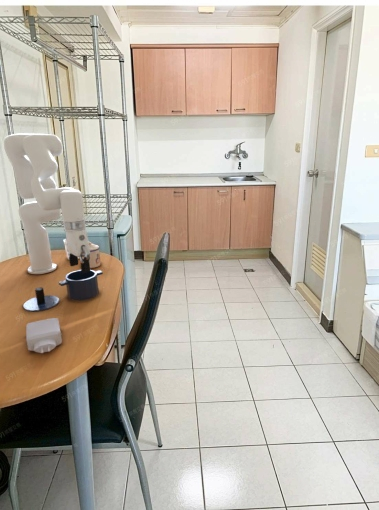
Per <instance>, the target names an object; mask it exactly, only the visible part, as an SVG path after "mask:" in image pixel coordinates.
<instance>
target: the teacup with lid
mask: <svg viewBox="0 0 379 510" xmlns="http://www.w3.org/2000/svg"><path fill="white" fill-rule="evenodd" d="M89 247H90V259H89V260H90V262H89V263H90V269H95V268H98V267H100V266H101V263H102V262H101V254H100V246H99V245H98V244H94V243H92V242H91V241H89ZM81 255H82V254H81ZM84 257H85V256H84ZM84 257H82V258H83V259H84Z"/></svg>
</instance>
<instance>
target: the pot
mask: <svg viewBox="0 0 379 510" xmlns="http://www.w3.org/2000/svg"><path fill="white" fill-rule="evenodd" d="M103 274H104V273H103V271H102V270H99V269H98V270H93V269H90V272H86V273H82V271H81V269H77V270H75V271H71V272H69V273H67V274H66V275H65V276H64V277H65V278H64V280H61V281H58V285H59V286H60V287H64V286H66V292H67V298H68V299H70V300H71V301H74V302H75V301H77V302H79V301H80V302H81V301H88V300H91V299H94V298H96V297H98V295H99V293H100V292H99V283H98V276H102V275H103Z"/></svg>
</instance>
